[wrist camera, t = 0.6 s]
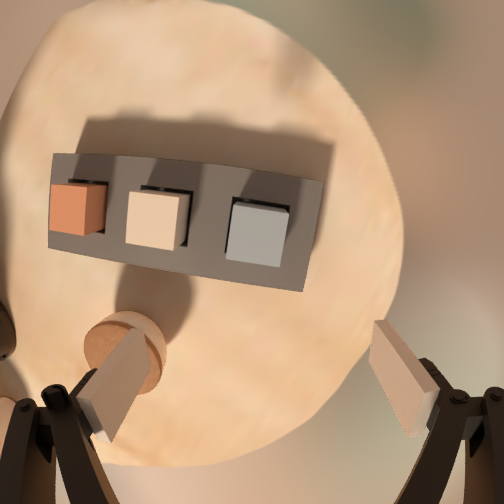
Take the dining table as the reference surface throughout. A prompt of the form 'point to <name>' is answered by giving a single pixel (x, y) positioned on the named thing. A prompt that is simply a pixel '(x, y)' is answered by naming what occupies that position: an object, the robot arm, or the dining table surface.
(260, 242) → the grey cube
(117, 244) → the console
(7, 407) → the can
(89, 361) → the lidded jar
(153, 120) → the dining table surface
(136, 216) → the key ivory
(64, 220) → the key terracotta
